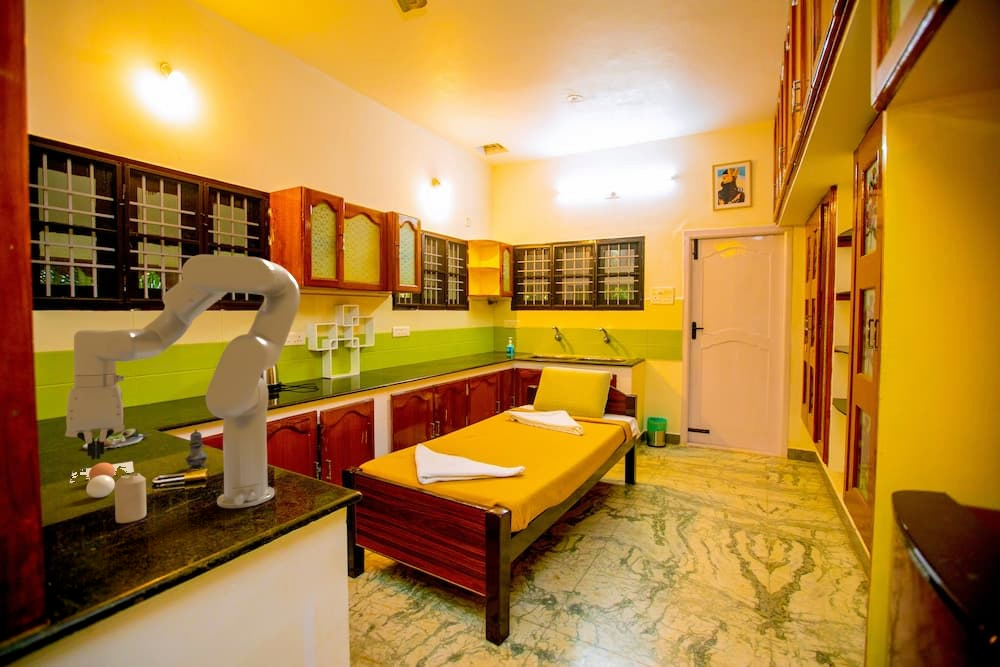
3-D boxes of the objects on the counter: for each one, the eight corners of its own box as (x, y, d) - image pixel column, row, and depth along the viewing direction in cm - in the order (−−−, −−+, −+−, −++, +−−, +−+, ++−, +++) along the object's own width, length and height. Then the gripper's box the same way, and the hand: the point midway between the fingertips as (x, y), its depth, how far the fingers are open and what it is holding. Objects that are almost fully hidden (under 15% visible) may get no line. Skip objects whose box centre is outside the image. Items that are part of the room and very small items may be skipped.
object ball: (112, 483, 128) (111, 464, 127) (86, 487, 125) (85, 467, 125) (117, 478, 132) (116, 459, 132) (92, 481, 130) (92, 461, 130)
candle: (142, 511, 109) (141, 469, 109) (149, 517, 105) (148, 474, 105) (112, 519, 105) (111, 475, 104) (119, 525, 101) (117, 480, 101)
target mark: (133, 472, 137) (133, 472, 137) (69, 483, 128) (69, 482, 128) (132, 461, 148) (132, 461, 148) (73, 471, 139) (73, 470, 139)
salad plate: (138, 449, 165) (138, 436, 165) (73, 455, 157) (73, 442, 157) (151, 437, 182) (151, 425, 182) (93, 442, 174) (93, 430, 174)
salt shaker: (196, 471, 137) (195, 431, 137) (180, 470, 139) (179, 431, 138) (212, 465, 143) (211, 427, 143) (196, 464, 144) (195, 426, 144)
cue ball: (111, 498, 117) (111, 477, 117) (83, 502, 114) (82, 480, 114) (117, 491, 122) (117, 470, 122) (90, 495, 119) (89, 474, 119)
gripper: (135, 378, 117) (135, 449, 118) (53, 382, 108) (54, 460, 108) (136, 381, 112) (136, 456, 112) (50, 385, 102) (50, 468, 103)
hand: (95, 458), depth 110 cm, fingers closed
